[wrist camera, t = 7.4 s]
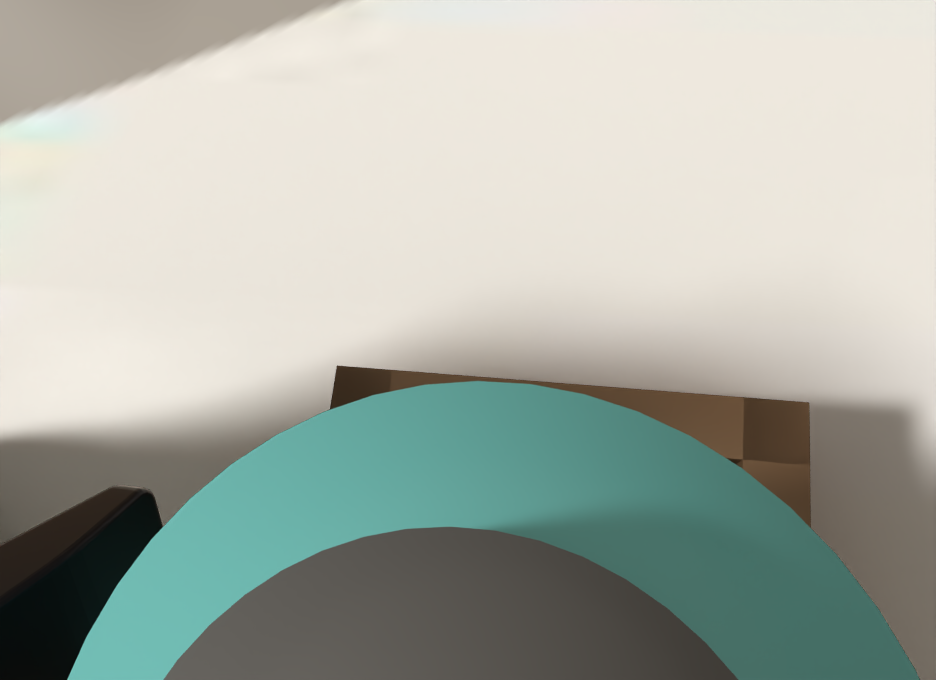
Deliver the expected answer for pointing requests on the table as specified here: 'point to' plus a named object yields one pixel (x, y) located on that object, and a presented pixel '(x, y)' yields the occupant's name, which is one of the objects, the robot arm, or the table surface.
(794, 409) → the tray
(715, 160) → the table surface
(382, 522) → the teal rounded cylinder
